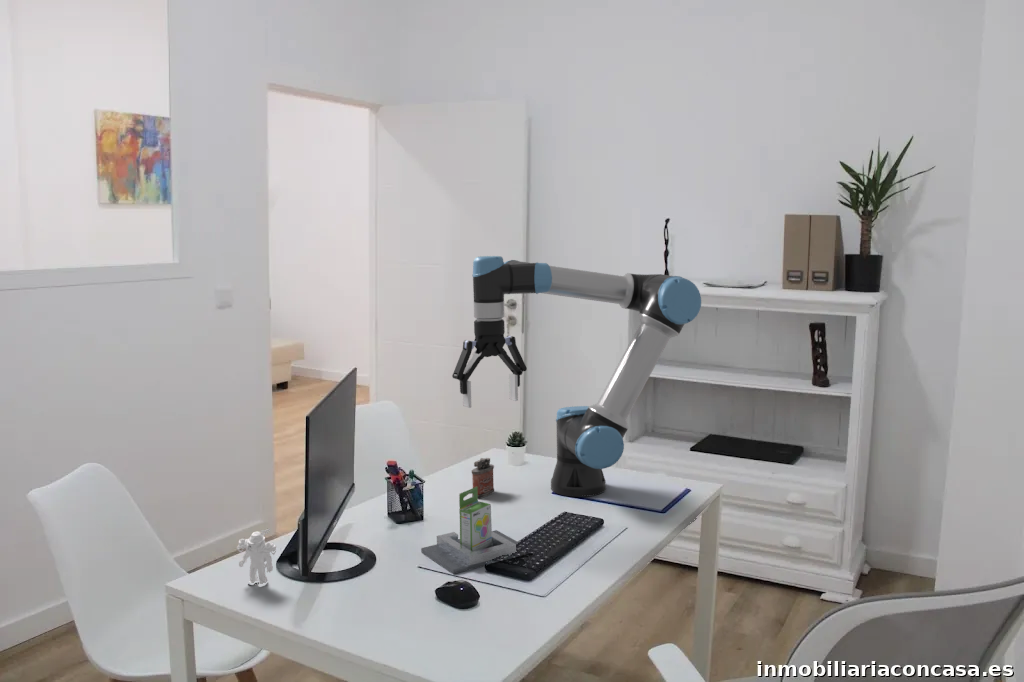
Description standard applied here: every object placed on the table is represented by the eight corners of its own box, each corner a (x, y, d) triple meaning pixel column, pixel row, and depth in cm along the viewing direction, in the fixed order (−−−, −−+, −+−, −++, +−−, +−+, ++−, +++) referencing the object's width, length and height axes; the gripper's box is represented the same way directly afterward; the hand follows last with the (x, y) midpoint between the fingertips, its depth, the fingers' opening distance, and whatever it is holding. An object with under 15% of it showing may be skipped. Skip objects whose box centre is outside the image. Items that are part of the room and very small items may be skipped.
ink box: (473, 555, 196) (472, 496, 194) (459, 551, 198) (458, 493, 196) (492, 545, 201) (491, 488, 199) (478, 542, 204) (477, 485, 202)
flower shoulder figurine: (281, 583, 185) (278, 527, 183) (270, 590, 182) (267, 534, 180) (246, 577, 188) (242, 523, 187) (234, 584, 185) (230, 529, 183)
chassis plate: (496, 534, 211) (496, 522, 211) (531, 553, 199) (531, 540, 198) (421, 552, 201) (420, 539, 200) (453, 574, 188) (452, 560, 188)
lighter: (487, 489, 246) (486, 454, 244) (497, 491, 244) (496, 456, 242) (469, 497, 239) (468, 461, 238) (479, 499, 237) (478, 463, 236)
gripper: (523, 313, 229) (524, 394, 232) (437, 321, 215) (439, 407, 218) (539, 316, 222) (540, 399, 225) (452, 324, 209) (454, 412, 212)
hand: (490, 403), depth 222 cm, fingers open, 13 cm apart
